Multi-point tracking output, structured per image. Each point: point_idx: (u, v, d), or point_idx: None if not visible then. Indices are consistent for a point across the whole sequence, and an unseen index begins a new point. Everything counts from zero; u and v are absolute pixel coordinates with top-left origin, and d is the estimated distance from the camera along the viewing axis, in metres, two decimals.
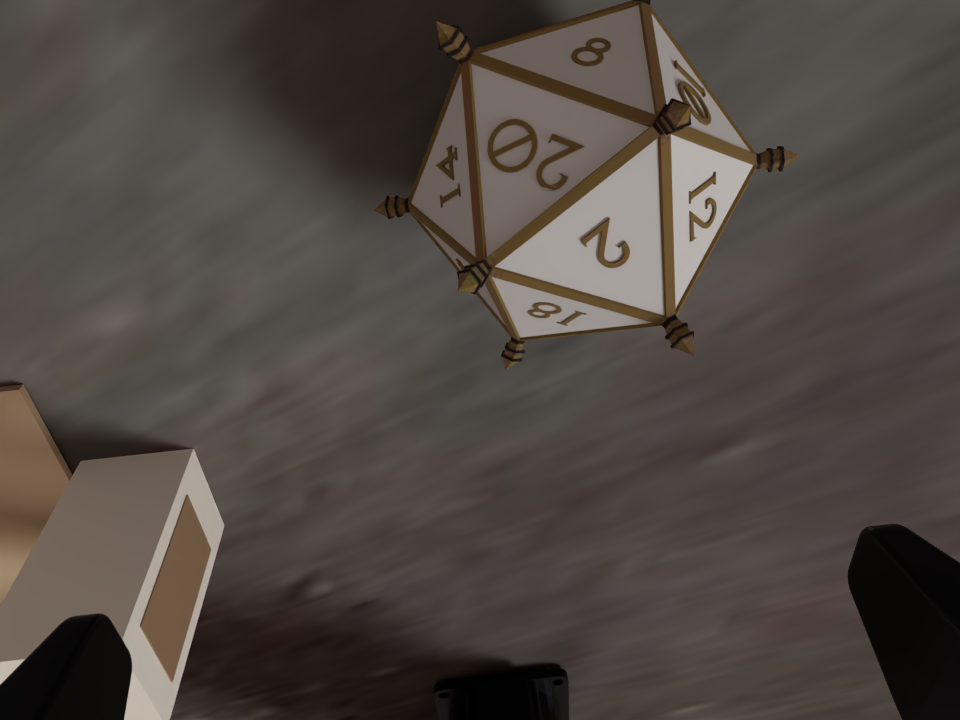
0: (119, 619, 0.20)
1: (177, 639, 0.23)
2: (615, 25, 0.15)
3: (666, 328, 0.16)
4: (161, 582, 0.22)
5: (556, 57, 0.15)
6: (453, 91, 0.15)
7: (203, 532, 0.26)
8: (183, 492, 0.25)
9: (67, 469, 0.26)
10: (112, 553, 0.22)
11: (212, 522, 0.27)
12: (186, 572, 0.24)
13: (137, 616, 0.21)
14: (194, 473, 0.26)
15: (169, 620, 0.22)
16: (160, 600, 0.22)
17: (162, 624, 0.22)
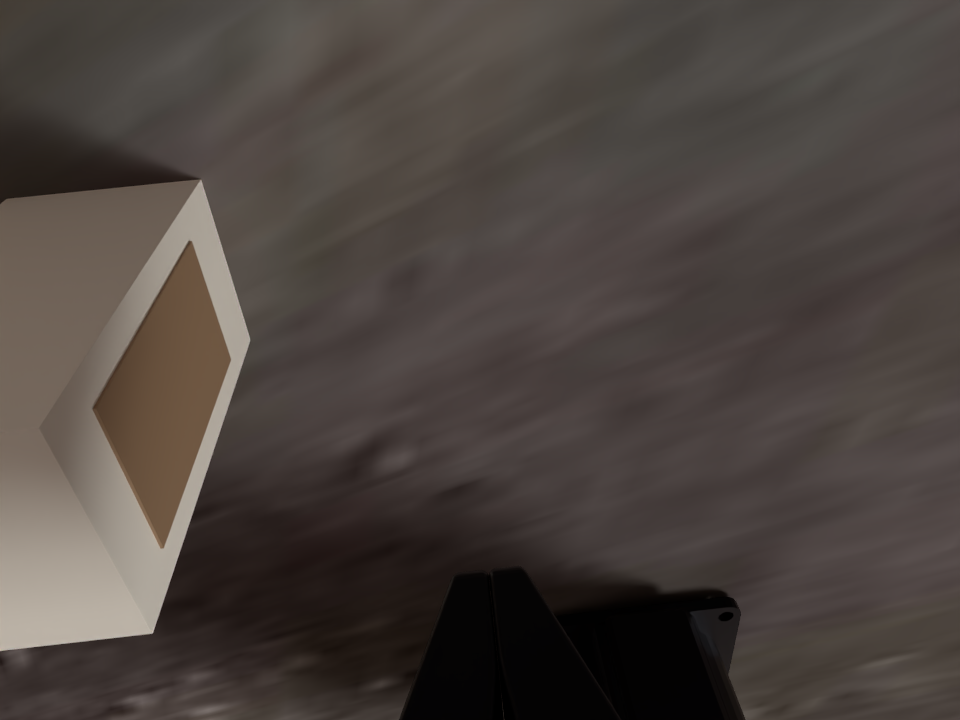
0: (46, 382, 0.09)
1: (172, 475, 0.12)
2: None
3: None
4: (143, 355, 0.11)
5: None
6: None
7: (219, 323, 0.15)
8: (183, 233, 0.14)
9: None
10: (45, 295, 0.11)
11: (232, 320, 0.16)
12: (189, 367, 0.13)
13: (88, 386, 0.10)
14: (202, 219, 0.15)
15: (157, 430, 0.12)
16: (139, 384, 0.11)
17: (142, 430, 0.11)
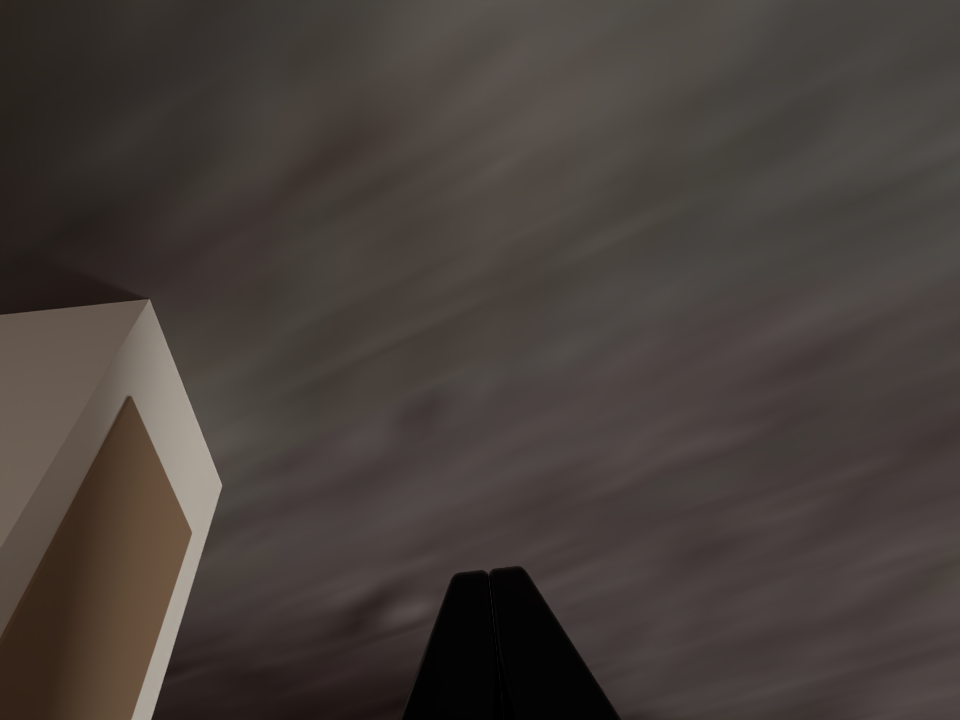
0: None
1: None
2: None
3: None
4: (36, 620, 0.08)
5: None
6: None
7: (173, 491, 0.11)
8: (119, 389, 0.10)
9: None
10: None
11: (195, 474, 0.12)
12: (123, 587, 0.09)
13: None
14: (150, 354, 0.11)
15: None
16: (26, 676, 0.07)
17: None
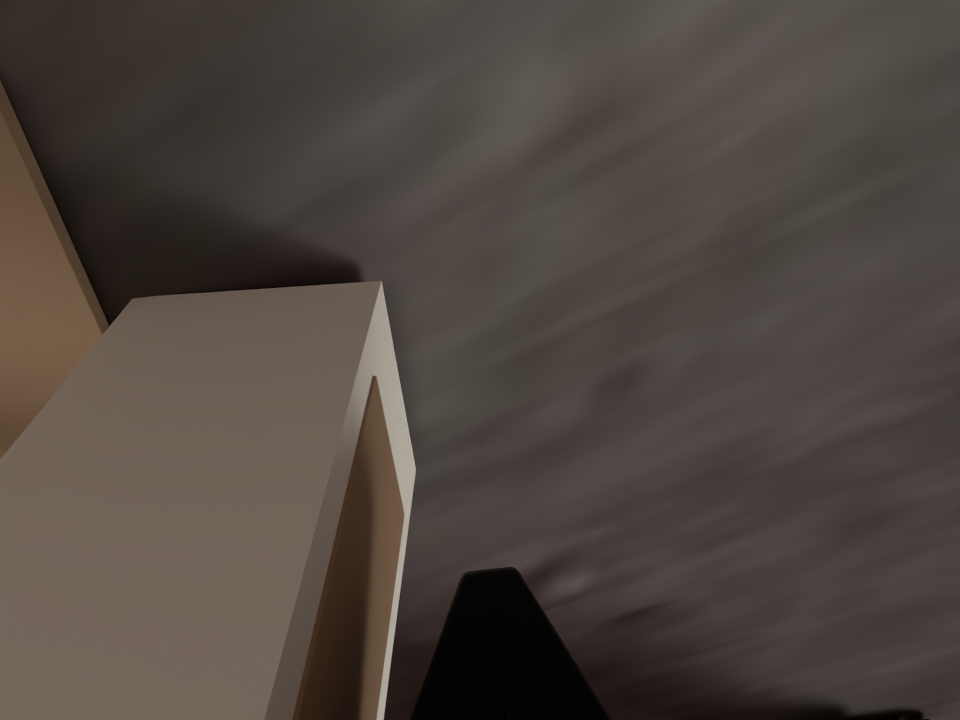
0: None
1: None
2: None
3: None
4: (334, 592, 0.08)
5: None
6: None
7: (396, 472, 0.11)
8: (369, 368, 0.10)
9: (102, 318, 0.12)
10: (200, 499, 0.08)
11: (404, 456, 0.12)
12: (374, 565, 0.09)
13: (282, 711, 0.06)
14: (382, 336, 0.11)
15: (348, 700, 0.08)
16: (333, 647, 0.07)
17: None
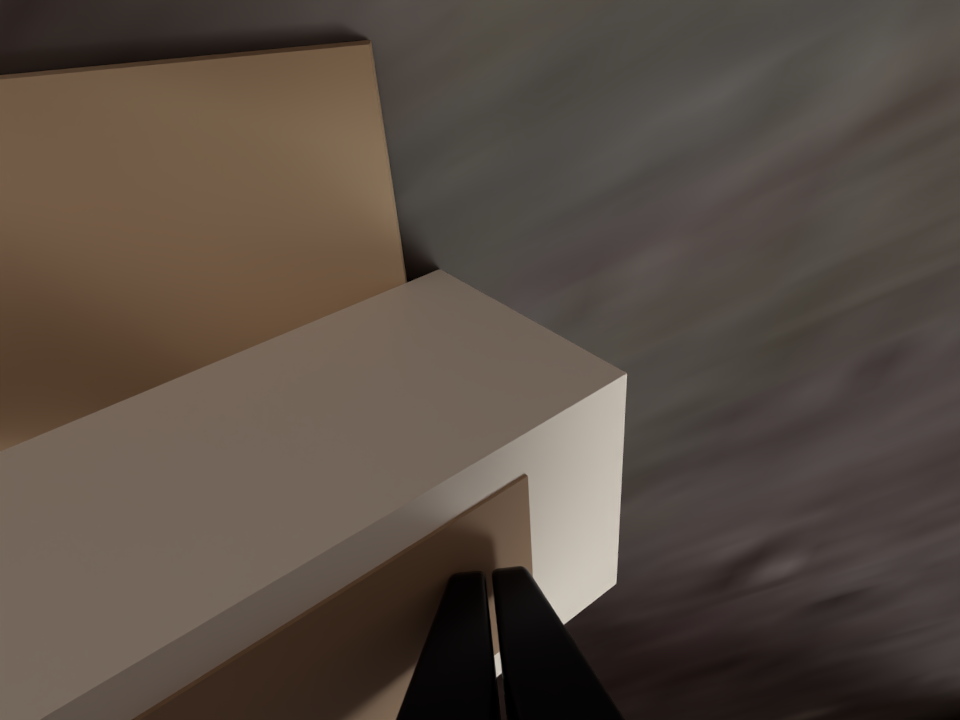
0: None
1: None
2: None
3: None
4: (266, 664, 0.07)
5: None
6: None
7: None
8: (516, 464, 0.08)
9: None
10: (233, 497, 0.08)
11: (581, 566, 0.10)
12: (399, 658, 0.08)
13: None
14: (588, 434, 0.09)
15: None
16: (220, 712, 0.07)
17: None
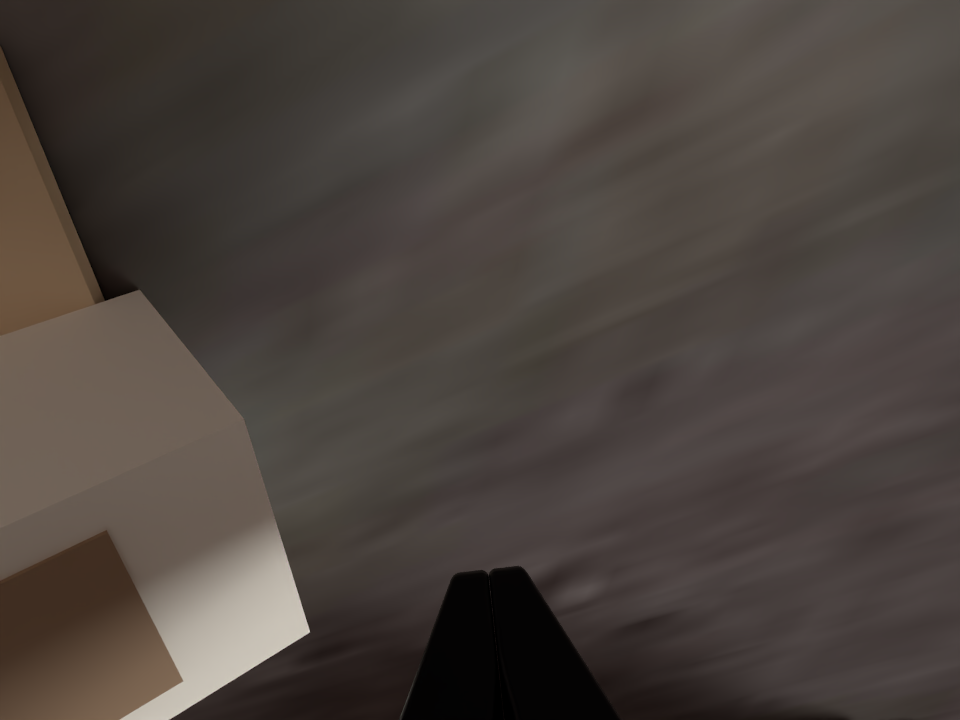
0: None
1: None
2: None
3: None
4: None
5: None
6: None
7: (161, 638, 0.09)
8: (86, 520, 0.08)
9: None
10: None
11: (242, 618, 0.10)
12: None
13: None
14: (202, 485, 0.08)
15: None
16: None
17: None
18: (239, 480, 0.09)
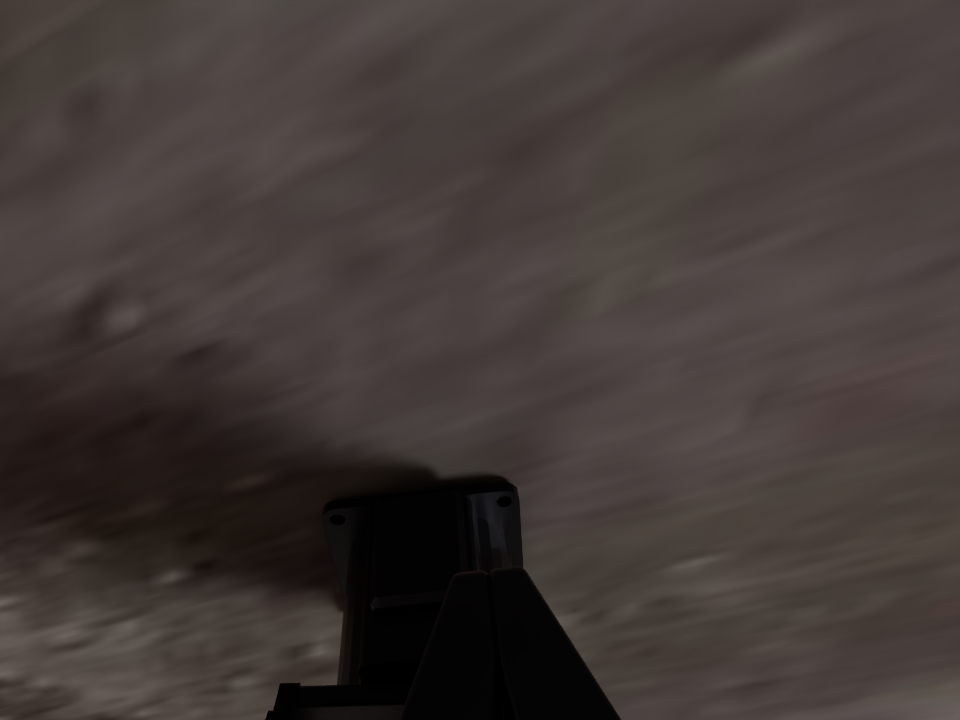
0: None
1: None
2: None
3: None
4: None
5: None
6: None
7: None
8: None
9: None
10: None
11: None
12: None
13: None
14: None
15: None
16: None
17: None
18: None
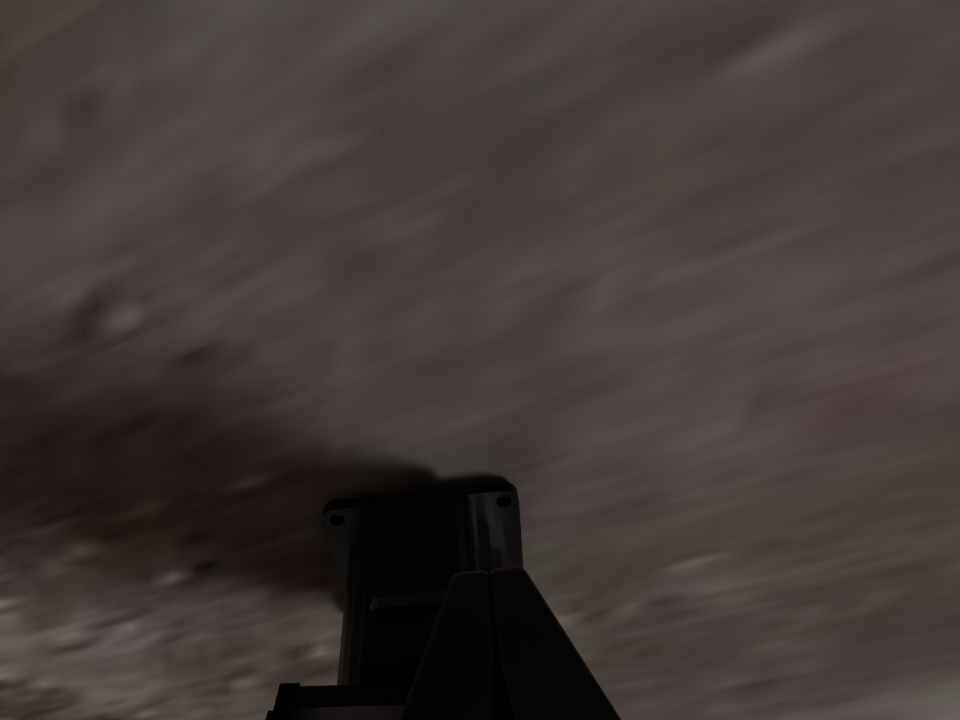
0: None
1: None
2: None
3: None
4: None
5: None
6: None
7: None
8: None
9: None
10: None
11: None
12: None
13: None
14: None
15: None
16: None
17: None
18: None
